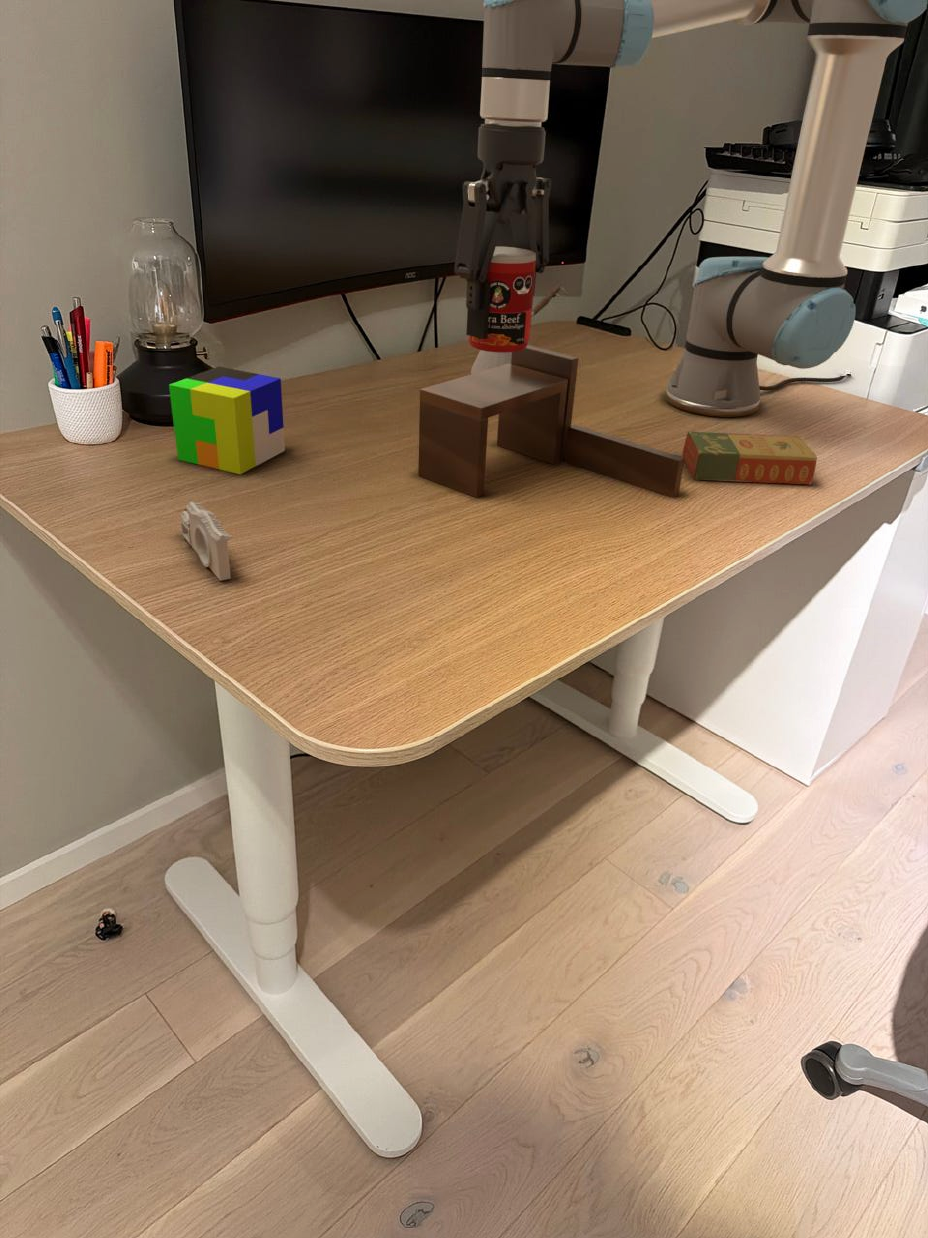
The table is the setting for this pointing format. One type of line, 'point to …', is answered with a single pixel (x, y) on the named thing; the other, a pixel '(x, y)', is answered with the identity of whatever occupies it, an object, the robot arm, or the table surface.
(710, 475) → the carton
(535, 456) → the step shelf
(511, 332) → the canned food
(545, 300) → the coffee pot
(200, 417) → the puzzle toy
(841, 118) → the robot arm
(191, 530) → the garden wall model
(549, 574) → the table surface
